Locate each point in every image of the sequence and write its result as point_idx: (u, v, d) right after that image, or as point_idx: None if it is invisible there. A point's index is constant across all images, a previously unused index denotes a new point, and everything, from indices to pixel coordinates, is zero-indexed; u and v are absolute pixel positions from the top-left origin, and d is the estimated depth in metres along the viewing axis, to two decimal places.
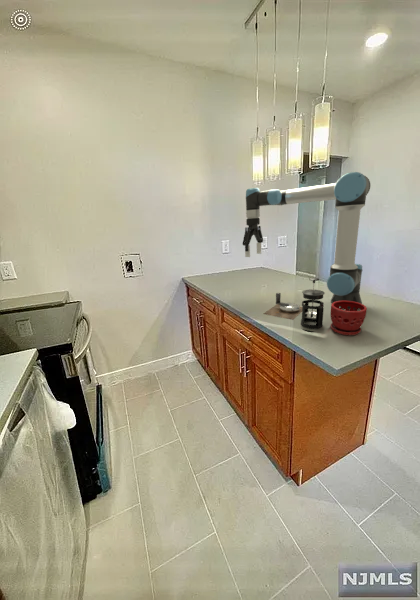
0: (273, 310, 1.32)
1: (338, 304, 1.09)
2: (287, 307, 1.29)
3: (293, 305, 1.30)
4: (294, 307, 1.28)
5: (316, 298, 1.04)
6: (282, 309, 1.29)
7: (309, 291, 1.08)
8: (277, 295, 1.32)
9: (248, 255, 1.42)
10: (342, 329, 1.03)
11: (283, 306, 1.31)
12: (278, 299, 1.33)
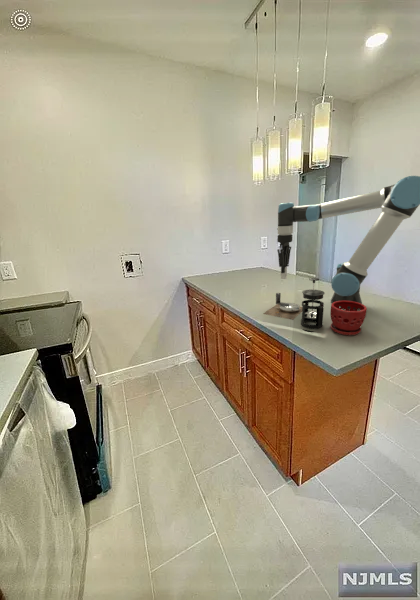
0: (273, 310, 1.32)
1: (338, 304, 1.09)
2: (287, 307, 1.29)
3: (293, 305, 1.30)
4: (294, 307, 1.28)
5: (316, 298, 1.04)
6: (282, 309, 1.29)
7: (309, 291, 1.08)
8: (277, 295, 1.32)
9: (284, 277, 1.35)
10: (342, 329, 1.03)
11: (283, 306, 1.31)
12: (278, 299, 1.33)
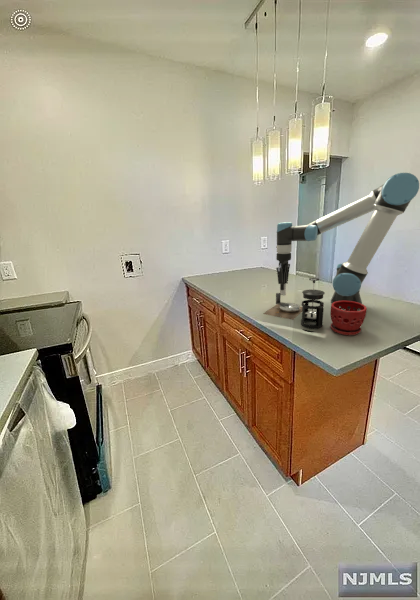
0: (273, 310, 1.32)
1: (338, 304, 1.09)
2: (287, 307, 1.29)
3: (293, 305, 1.30)
4: (294, 307, 1.28)
5: (316, 298, 1.04)
6: (282, 309, 1.29)
7: (309, 291, 1.08)
8: (277, 295, 1.32)
9: (283, 294, 1.37)
10: (342, 329, 1.03)
11: (283, 306, 1.31)
12: (278, 299, 1.33)
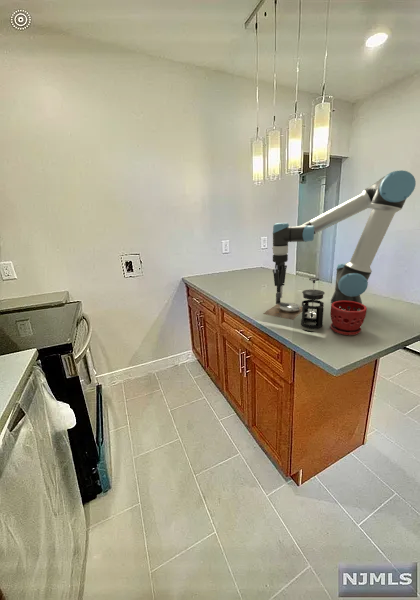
0: (273, 310, 1.32)
1: (338, 304, 1.09)
2: (287, 307, 1.29)
3: (293, 305, 1.30)
4: (294, 307, 1.28)
5: (316, 298, 1.04)
6: (282, 309, 1.29)
7: (309, 291, 1.08)
8: (277, 295, 1.32)
9: None
10: (342, 329, 1.03)
11: (283, 306, 1.31)
12: (278, 299, 1.33)
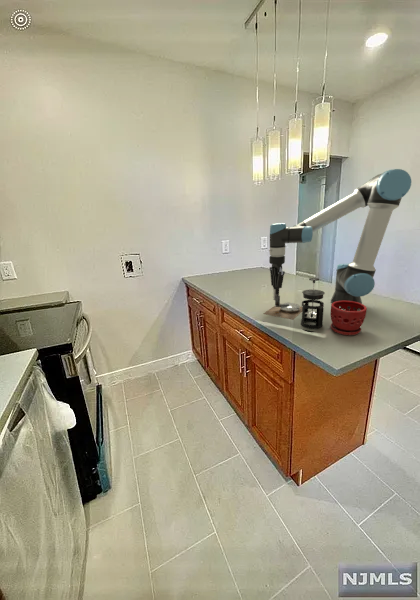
0: (273, 310, 1.32)
1: (338, 304, 1.09)
2: (291, 307, 1.28)
3: (292, 305, 1.32)
4: (296, 306, 1.30)
5: (316, 298, 1.04)
6: (288, 310, 1.27)
7: (309, 291, 1.08)
8: (278, 297, 1.29)
9: None
10: (342, 329, 1.03)
11: (286, 307, 1.29)
12: (279, 301, 1.29)
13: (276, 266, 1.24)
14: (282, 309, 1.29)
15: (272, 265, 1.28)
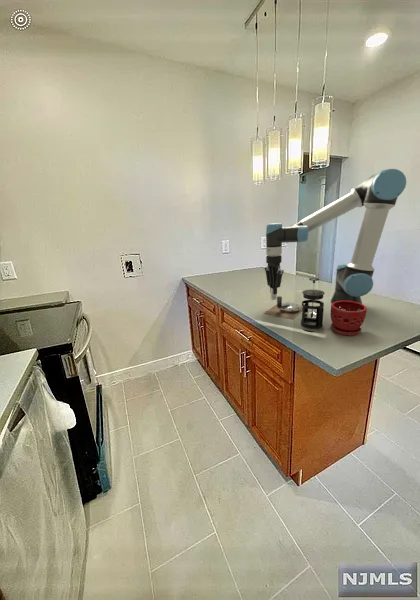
0: (273, 310, 1.32)
1: (338, 304, 1.09)
2: (293, 307, 1.28)
3: (291, 304, 1.32)
4: (296, 305, 1.31)
5: (316, 298, 1.04)
6: (291, 310, 1.26)
7: (309, 291, 1.08)
8: (280, 299, 1.26)
9: (275, 297, 1.32)
10: (342, 329, 1.03)
11: (288, 307, 1.28)
12: (281, 302, 1.27)
13: (274, 265, 1.25)
14: (285, 310, 1.28)
15: (268, 265, 1.29)
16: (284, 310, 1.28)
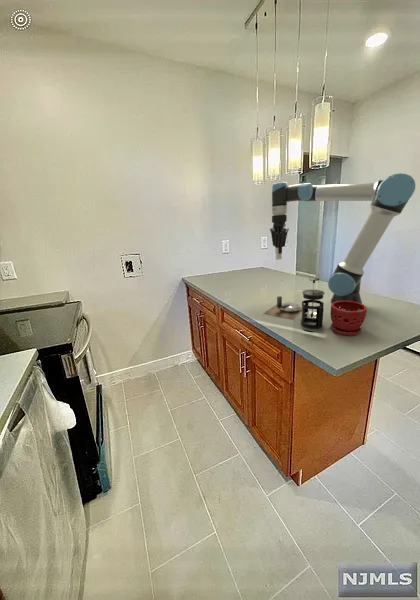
0: (273, 310, 1.32)
1: (338, 304, 1.09)
2: (293, 307, 1.28)
3: (291, 304, 1.32)
4: (296, 305, 1.31)
5: (316, 298, 1.04)
6: (291, 310, 1.26)
7: (309, 291, 1.08)
8: (280, 299, 1.26)
9: (280, 257, 1.37)
10: (342, 329, 1.03)
11: (288, 307, 1.28)
12: (281, 302, 1.27)
13: (279, 224, 1.30)
14: (285, 310, 1.28)
15: (274, 225, 1.34)
16: (284, 310, 1.28)
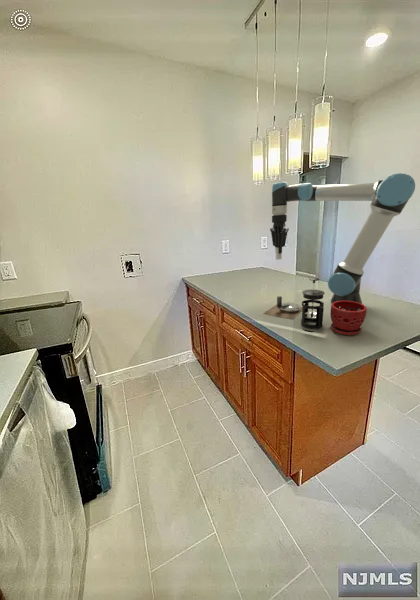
0: (273, 310, 1.32)
1: (338, 304, 1.09)
2: (293, 307, 1.28)
3: (291, 304, 1.32)
4: (296, 305, 1.31)
5: (316, 298, 1.04)
6: (291, 310, 1.26)
7: (309, 291, 1.08)
8: (280, 299, 1.26)
9: (280, 257, 1.37)
10: (342, 329, 1.03)
11: (288, 307, 1.28)
12: (281, 302, 1.27)
13: (279, 224, 1.30)
14: (285, 310, 1.28)
15: (274, 225, 1.35)
16: (284, 310, 1.28)
